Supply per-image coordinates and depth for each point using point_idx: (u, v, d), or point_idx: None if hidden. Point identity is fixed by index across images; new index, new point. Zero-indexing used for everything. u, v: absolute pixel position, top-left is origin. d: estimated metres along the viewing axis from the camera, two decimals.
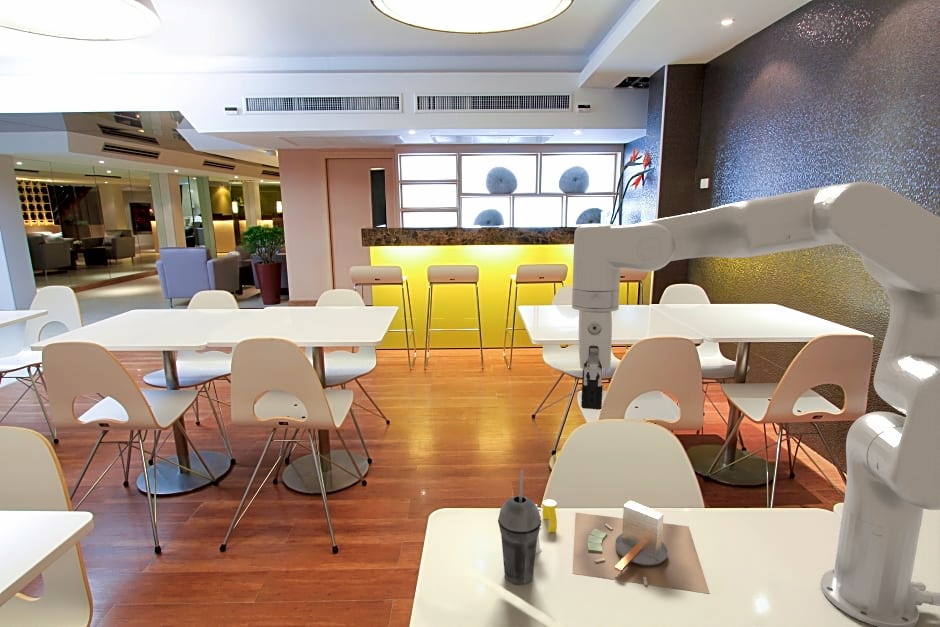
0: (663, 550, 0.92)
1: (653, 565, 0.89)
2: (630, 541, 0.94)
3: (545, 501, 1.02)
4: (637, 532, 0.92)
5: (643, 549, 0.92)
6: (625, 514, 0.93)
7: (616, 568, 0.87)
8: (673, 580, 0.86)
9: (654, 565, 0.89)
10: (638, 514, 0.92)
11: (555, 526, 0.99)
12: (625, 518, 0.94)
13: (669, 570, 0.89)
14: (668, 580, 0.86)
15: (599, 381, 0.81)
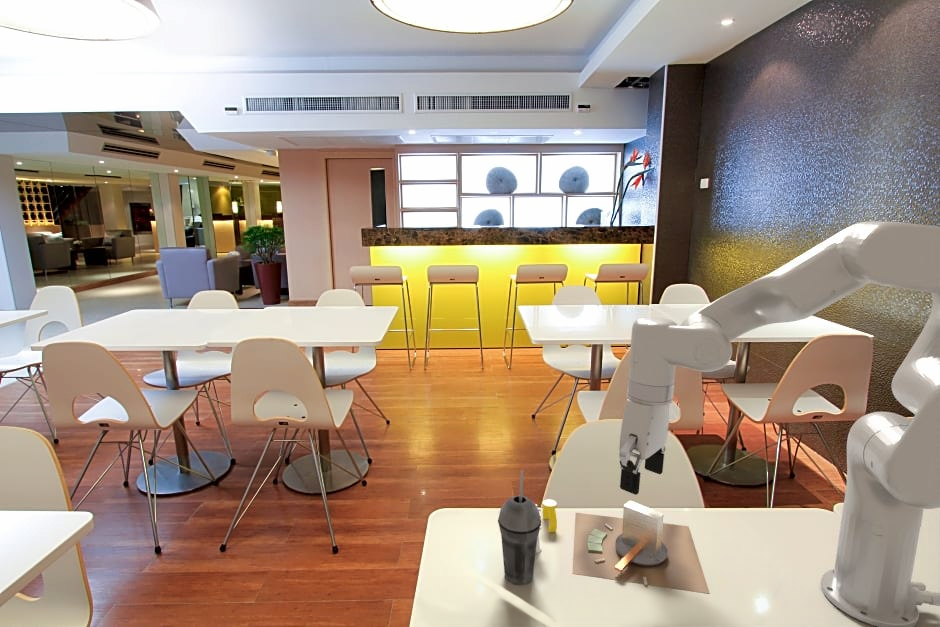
0: (663, 550, 0.92)
1: (653, 565, 0.89)
2: (630, 541, 0.94)
3: (545, 501, 1.02)
4: (637, 532, 0.92)
5: (643, 549, 0.92)
6: (625, 514, 0.93)
7: (616, 568, 0.87)
8: (673, 580, 0.86)
9: (654, 565, 0.89)
10: (638, 514, 0.92)
11: (555, 526, 0.99)
12: (625, 518, 0.94)
13: (669, 570, 0.89)
14: (668, 580, 0.86)
15: None
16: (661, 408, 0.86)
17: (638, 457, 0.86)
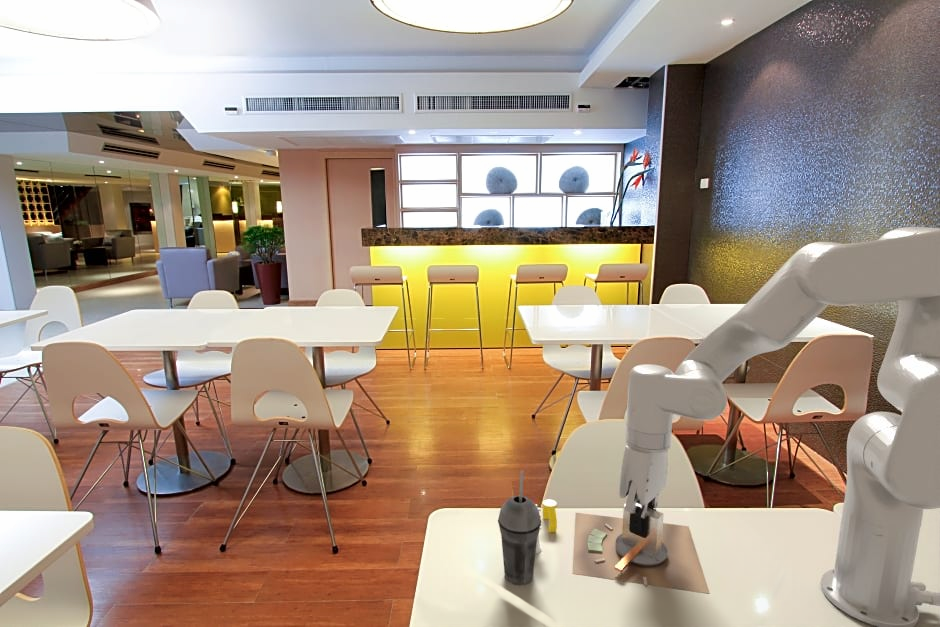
0: (663, 550, 0.92)
1: (653, 565, 0.89)
2: (630, 541, 0.94)
3: (545, 501, 1.02)
4: None
5: (643, 549, 0.92)
6: (625, 514, 0.93)
7: (616, 568, 0.87)
8: (673, 580, 0.86)
9: (654, 565, 0.89)
10: None
11: (555, 526, 0.99)
12: (625, 518, 0.94)
13: (669, 570, 0.89)
14: (668, 580, 0.86)
15: None
16: (659, 454, 0.88)
17: (638, 503, 0.87)
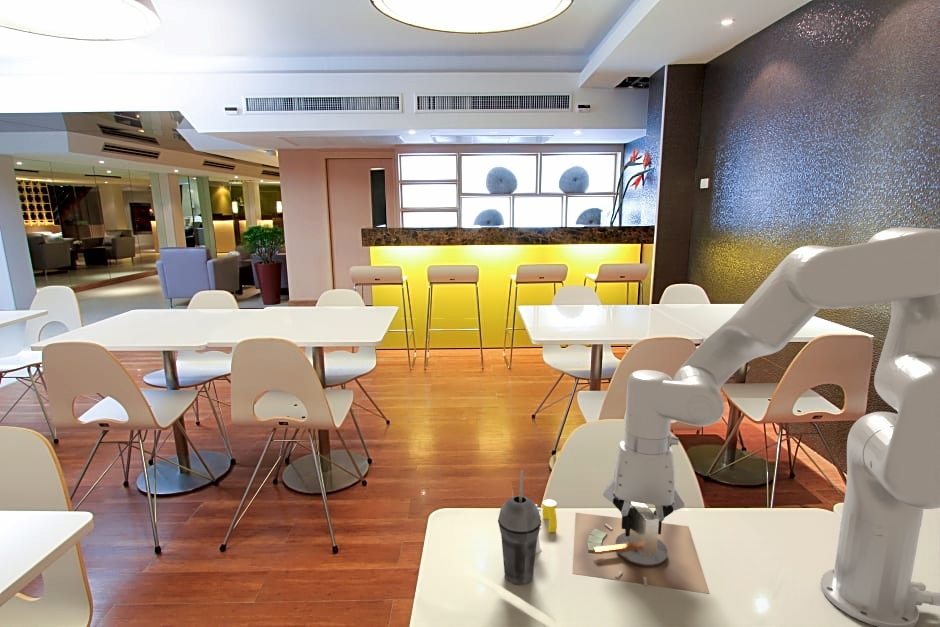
0: (658, 557, 0.90)
1: (636, 563, 0.90)
2: (631, 537, 0.95)
3: (545, 501, 1.02)
4: (634, 529, 0.93)
5: (637, 548, 0.92)
6: None
7: (594, 549, 0.92)
8: (673, 580, 0.86)
9: (637, 564, 0.90)
10: (636, 511, 0.92)
11: (555, 526, 0.99)
12: None
13: (669, 570, 0.89)
14: (668, 580, 0.86)
15: None
16: (642, 459, 0.89)
17: None
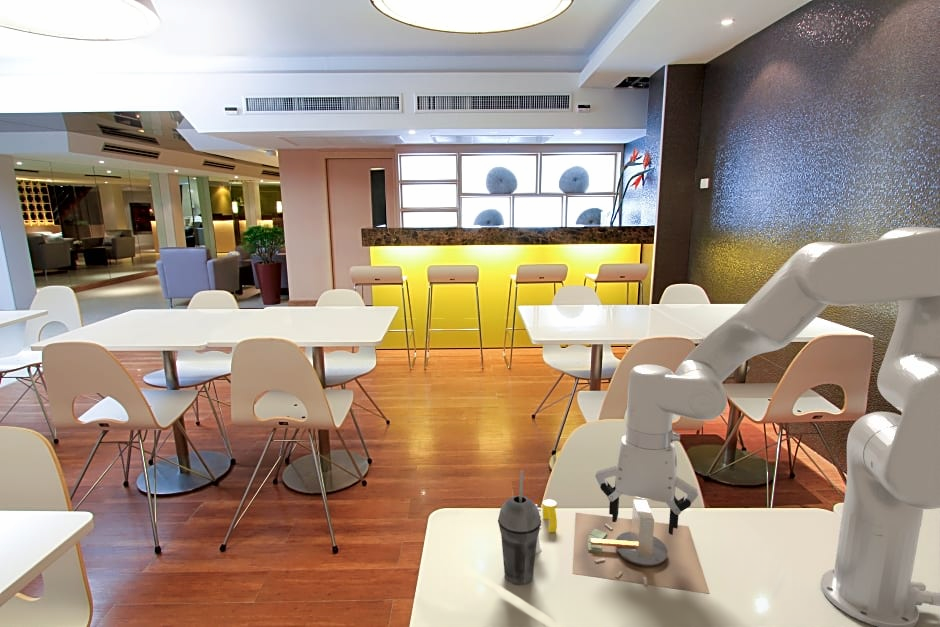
0: (653, 559, 0.90)
1: (628, 560, 0.91)
2: (633, 536, 0.95)
3: (545, 501, 1.02)
4: (634, 528, 0.93)
5: (635, 546, 0.93)
6: (633, 508, 0.95)
7: None
8: (673, 580, 0.86)
9: (629, 561, 0.90)
10: (635, 510, 0.93)
11: (555, 526, 0.99)
12: (633, 512, 0.95)
13: (669, 570, 0.89)
14: (668, 580, 0.86)
15: None
16: (641, 454, 0.88)
17: None
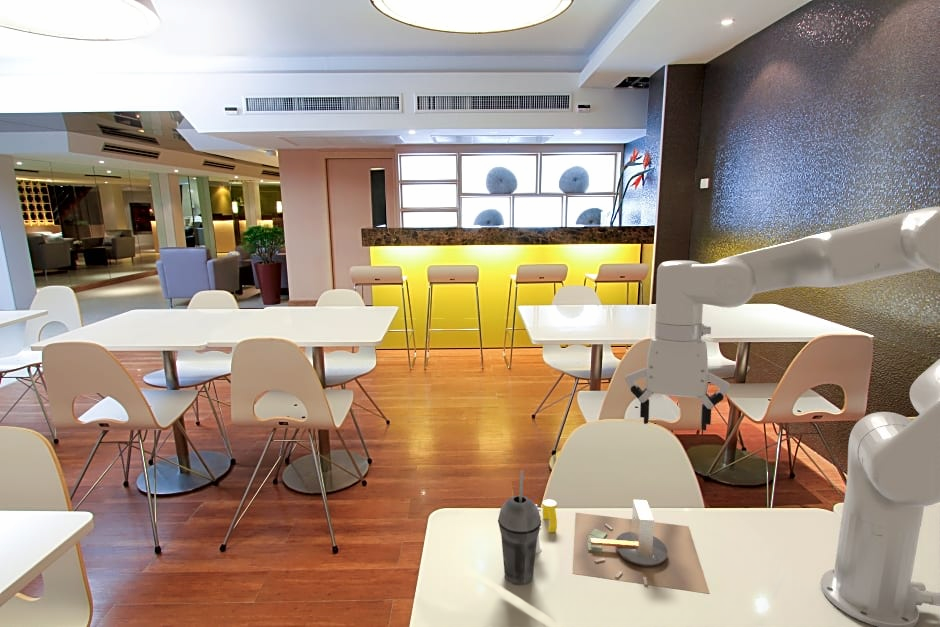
0: (653, 559, 0.90)
1: (628, 560, 0.91)
2: (633, 536, 0.95)
3: (545, 501, 1.02)
4: (634, 528, 0.93)
5: (635, 546, 0.93)
6: (633, 508, 0.95)
7: None
8: (673, 580, 0.86)
9: (629, 561, 0.90)
10: (635, 510, 0.93)
11: (555, 526, 0.99)
12: (633, 512, 0.95)
13: (669, 570, 0.89)
14: (668, 580, 0.86)
15: None
16: (672, 348, 0.88)
17: None
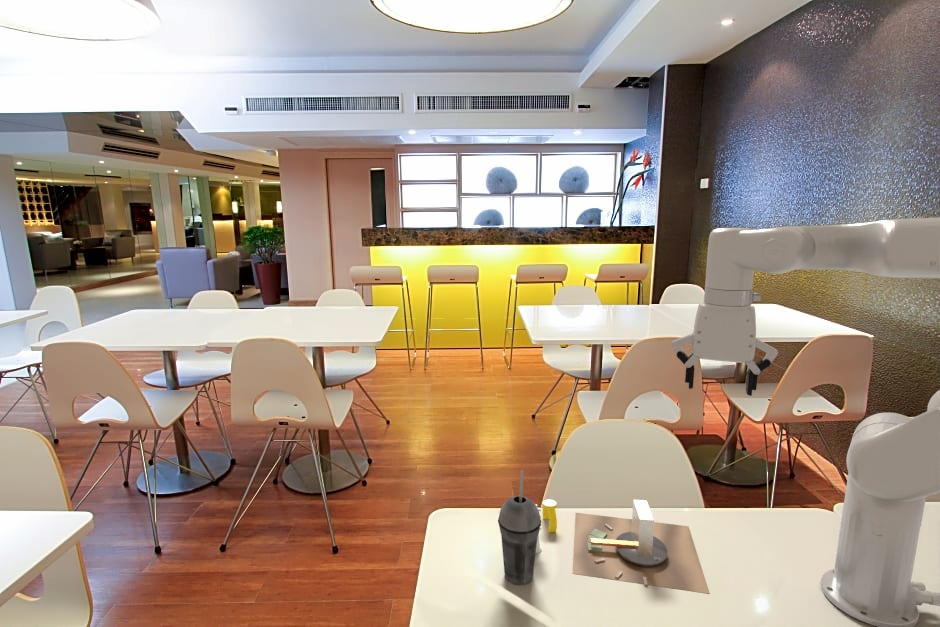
0: (653, 559, 0.90)
1: (628, 560, 0.91)
2: (633, 536, 0.95)
3: (545, 501, 1.02)
4: (634, 528, 0.93)
5: (635, 546, 0.93)
6: (633, 508, 0.95)
7: None
8: (673, 580, 0.86)
9: (629, 561, 0.90)
10: (635, 510, 0.93)
11: (555, 526, 0.99)
12: (633, 512, 0.95)
13: (669, 570, 0.89)
14: (668, 580, 0.86)
15: None
16: (722, 314, 0.89)
17: None
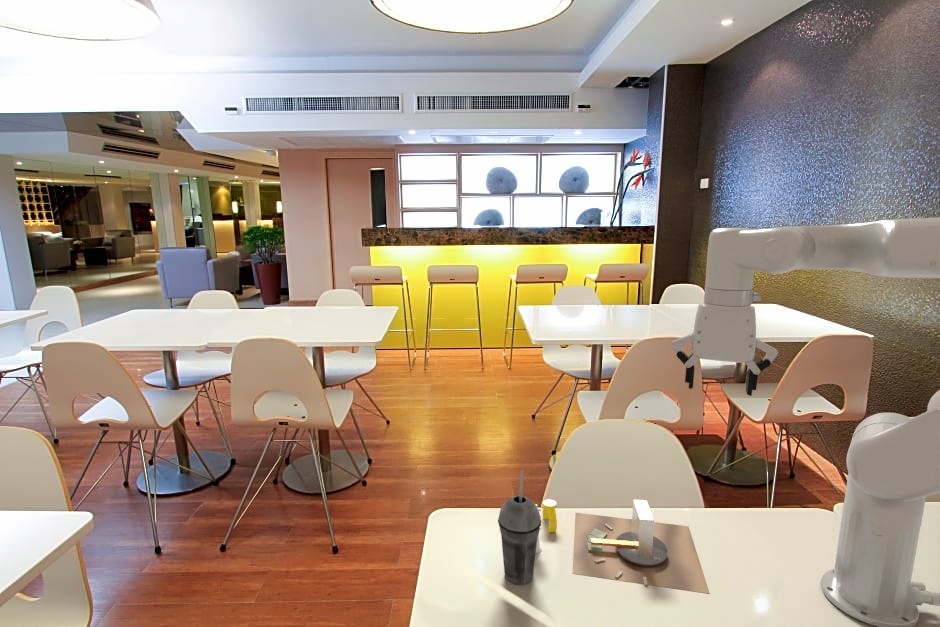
0: (653, 559, 0.90)
1: (628, 560, 0.91)
2: (633, 536, 0.95)
3: (545, 501, 1.02)
4: (634, 528, 0.93)
5: (635, 546, 0.93)
6: (633, 508, 0.95)
7: None
8: (673, 580, 0.86)
9: (629, 561, 0.90)
10: (635, 510, 0.93)
11: (555, 526, 0.99)
12: (633, 512, 0.95)
13: (669, 570, 0.89)
14: (668, 580, 0.86)
15: None
16: (722, 314, 0.89)
17: None
